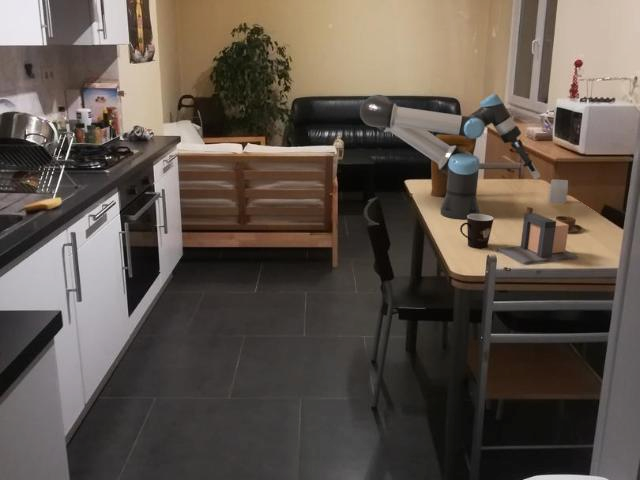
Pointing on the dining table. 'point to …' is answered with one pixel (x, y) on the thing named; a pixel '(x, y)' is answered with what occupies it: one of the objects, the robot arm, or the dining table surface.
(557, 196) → the tea bag
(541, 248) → the dark grey archway
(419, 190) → the dining table surface
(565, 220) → the place setting
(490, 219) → the coffee mug
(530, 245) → the peach box
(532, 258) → the base board
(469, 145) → the pancake mix bag
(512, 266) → the dining table surface
